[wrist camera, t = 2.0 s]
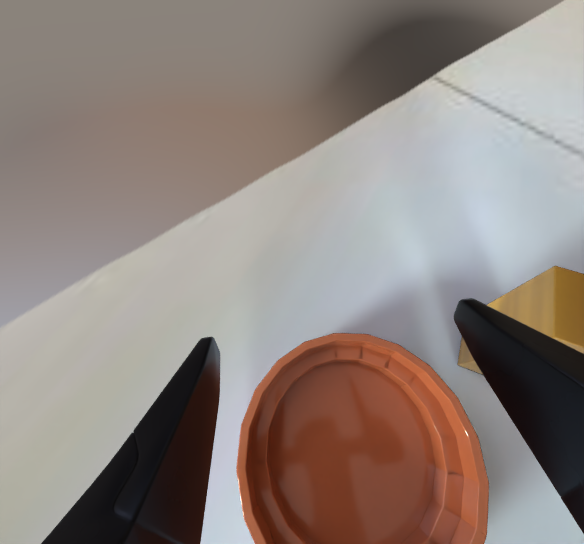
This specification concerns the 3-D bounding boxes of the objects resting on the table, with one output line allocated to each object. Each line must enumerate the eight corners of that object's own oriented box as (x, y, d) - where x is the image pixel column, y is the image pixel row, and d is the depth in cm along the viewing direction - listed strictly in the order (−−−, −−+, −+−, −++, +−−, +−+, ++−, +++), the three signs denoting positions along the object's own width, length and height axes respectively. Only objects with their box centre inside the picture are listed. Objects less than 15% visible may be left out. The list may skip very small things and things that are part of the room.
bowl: (488, 427, 21) (526, 431, 17) (388, 663, 16) (412, 738, 12) (324, 311, 25) (327, 295, 22) (208, 464, 20) (187, 476, 17)
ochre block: (519, 336, 23) (649, 292, 15) (515, 387, 22) (661, 373, 13) (464, 317, 24) (554, 265, 16) (456, 364, 23) (553, 337, 14)
